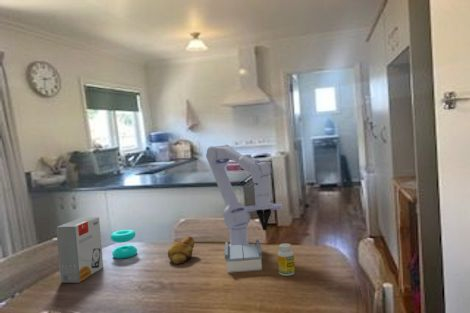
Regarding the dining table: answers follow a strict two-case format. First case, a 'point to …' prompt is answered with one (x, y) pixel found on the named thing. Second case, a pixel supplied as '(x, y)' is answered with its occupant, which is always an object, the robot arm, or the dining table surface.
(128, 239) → the donuts
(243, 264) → the carton
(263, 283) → the dining table surface
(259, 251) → the flap
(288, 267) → the supplement bottle
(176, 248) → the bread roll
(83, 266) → the hard drive box
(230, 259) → the flap
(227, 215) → the robot arm
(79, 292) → the dining table surface
